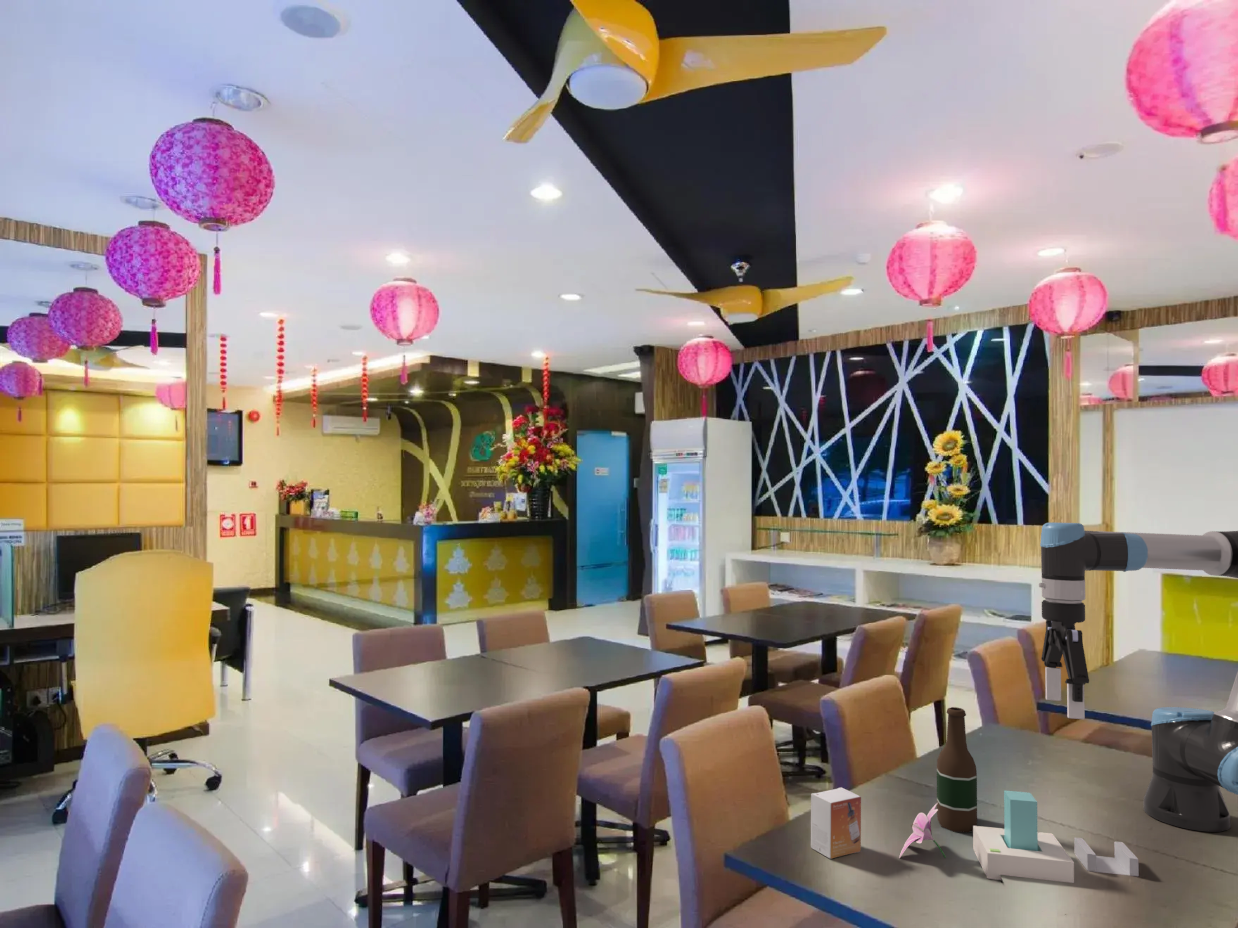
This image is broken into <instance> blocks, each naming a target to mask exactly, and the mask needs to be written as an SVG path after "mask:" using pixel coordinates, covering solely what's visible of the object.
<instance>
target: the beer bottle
mask: <svg viewBox="0 0 1238 928" xmlns="http://www.w3.org/2000/svg"><path fill="white" fill-rule="evenodd" d="M946 709H947V710H946V713H947V727H946V728H947V729H946V741H945V746H944V747H943V748H942V750H941V751H940V752H939V755H938V757H937V761H936V803H937V805H936V809H938V811H937V812H936V817H937V821H938V823H939V825H940V827H941V828H943V829H946V830H949V831H950V832H954V833H963V834H964V833H966V834H969V833H971V832H973V826H978V774H977V773H978V772H977V766H976V763H975V760H974V757H973V756H972V754H971V753H970V751H969V749H968V745H967V735H966V722H965V721H966V720H965V717H966V716H967V712H966V711H965V709H964V708H961V707H956V706H952V707H948V708H946Z"/></svg>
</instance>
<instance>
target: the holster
mask: <svg viewBox="0 0 1238 928" xmlns="http://www.w3.org/2000/svg"><path fill="white" fill-rule="evenodd" d="M1073 838H1074V840H1073V841H1074V844H1073V845H1074V847H1073V849H1074V850H1073V851H1074V853H1073V854H1074V855H1075V857H1076V858H1077V859H1078V860H1079V862H1080V863H1081V865H1082V866H1083V867H1084V868H1085V870H1086V871H1087V872H1094V873H1104V874H1114V875H1122V876H1131V877H1139V876H1140V875H1139V871H1140V870H1139V858H1138V857H1137V856H1136V855H1135V854H1134V853H1133V851H1132V850H1130V848H1129V847H1128V846H1127V845H1126V844H1125V843H1124V842H1122V841H1114V842H1113V846H1114V853H1113V854H1114V856H1112V857H1111V856H1102V855H1097V854H1096V853H1095V852H1094V850H1093V849H1092V848H1091V847H1090V845H1089V844H1088V843H1087V842H1086V840H1084V838H1082V837H1075V836H1074V837H1073Z"/></svg>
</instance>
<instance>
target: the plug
mask: <svg viewBox="0 0 1238 928" xmlns="http://www.w3.org/2000/svg"><path fill="white" fill-rule="evenodd" d="M1003 805H1004V806H1003V810H1004V811H1003V814H1004V815H1003V817H1004V820H1003V821H1004V824H1003V825H1004V828H1003V829H1004V842H1005V844H1006V846H1007V847H1008V848H1012V849H1022V850H1031V851H1038V832H1039V831H1038V801H1037V799H1036V798H1035V797H1034V796H1033V794H1032V793H1031V792H1026V791H1015V790H1003Z"/></svg>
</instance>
